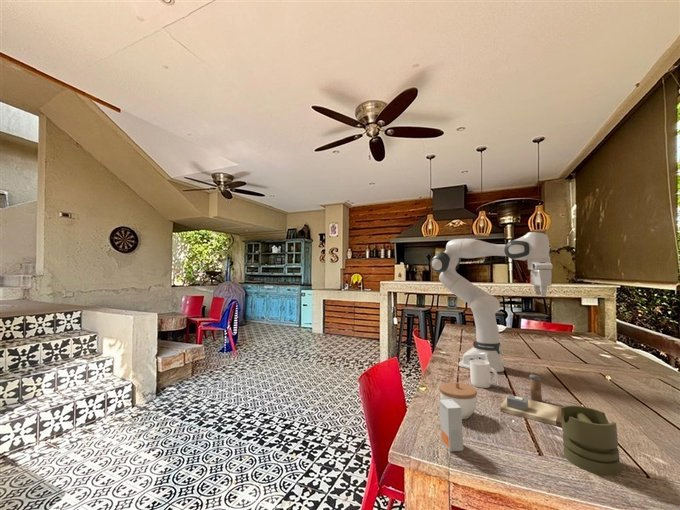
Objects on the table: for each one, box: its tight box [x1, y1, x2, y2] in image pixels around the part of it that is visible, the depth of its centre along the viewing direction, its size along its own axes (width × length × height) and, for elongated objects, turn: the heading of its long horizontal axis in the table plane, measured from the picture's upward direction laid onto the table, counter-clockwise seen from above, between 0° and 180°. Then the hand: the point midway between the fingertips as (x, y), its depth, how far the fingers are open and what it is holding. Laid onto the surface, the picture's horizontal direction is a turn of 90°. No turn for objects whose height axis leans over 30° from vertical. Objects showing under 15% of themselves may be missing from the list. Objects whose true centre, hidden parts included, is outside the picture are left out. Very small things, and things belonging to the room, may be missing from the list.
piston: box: [561, 405, 621, 477], centre depth 77 cm, size 11×12×11 cm
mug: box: [469, 359, 499, 389], centre depth 130 cm, size 12×8×10 cm
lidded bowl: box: [438, 381, 478, 420], centre depth 104 cm, size 13×13×11 cm
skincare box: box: [438, 399, 464, 453], centre depth 85 cm, size 6×4×12 cm
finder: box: [506, 394, 529, 411], centre depth 105 cm, size 6×4×3 cm, turn 49°
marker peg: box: [528, 374, 543, 403], centre depth 114 cm, size 4×4×10 cm
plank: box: [499, 394, 563, 428], centre depth 103 cm, size 24×14×2 cm, turn 49°
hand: (540, 295), depth 133 cm, fingers open, 8 cm apart
